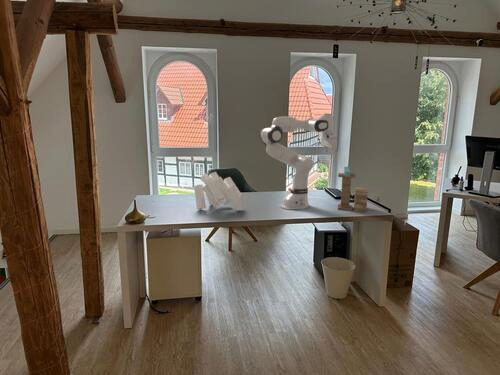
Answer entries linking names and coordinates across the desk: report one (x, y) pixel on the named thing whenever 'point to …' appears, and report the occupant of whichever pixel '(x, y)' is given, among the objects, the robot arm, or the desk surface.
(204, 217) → the desk surface
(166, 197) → the desk surface
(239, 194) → the pile of blocks
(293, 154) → the robot arm
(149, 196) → the desk surface
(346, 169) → the teal bar
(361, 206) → the oak block
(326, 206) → the desk surface
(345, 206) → the walnut shelf post
